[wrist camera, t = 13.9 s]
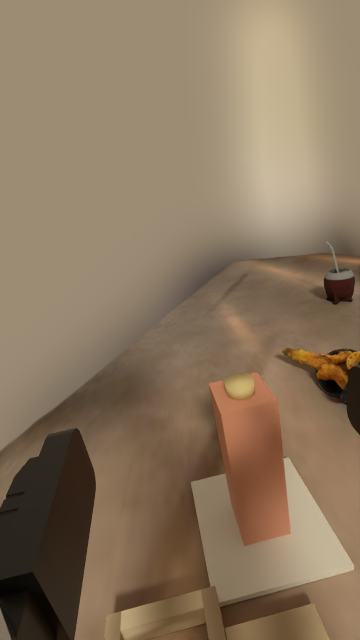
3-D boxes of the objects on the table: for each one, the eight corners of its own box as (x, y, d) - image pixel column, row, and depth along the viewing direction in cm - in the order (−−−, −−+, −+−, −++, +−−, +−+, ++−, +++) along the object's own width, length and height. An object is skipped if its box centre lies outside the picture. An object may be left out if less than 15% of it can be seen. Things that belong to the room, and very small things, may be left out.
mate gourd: (349, 306, 76) (349, 245, 70) (316, 303, 81) (314, 247, 76) (358, 296, 80) (359, 238, 75) (327, 294, 86) (326, 240, 81)
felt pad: (214, 608, 25) (213, 604, 25) (191, 485, 36) (190, 482, 36) (354, 570, 25) (354, 565, 25) (288, 461, 37) (288, 457, 37)
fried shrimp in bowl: (395, 410, 35) (261, 338, 45) (374, 441, 43) (264, 374, 54) (428, 353, 38) (295, 298, 48) (403, 393, 46) (294, 338, 57)
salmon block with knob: (244, 546, 28) (218, 403, 23) (230, 503, 32) (206, 373, 27) (290, 533, 28) (276, 389, 23) (271, 492, 33) (255, 362, 27)
